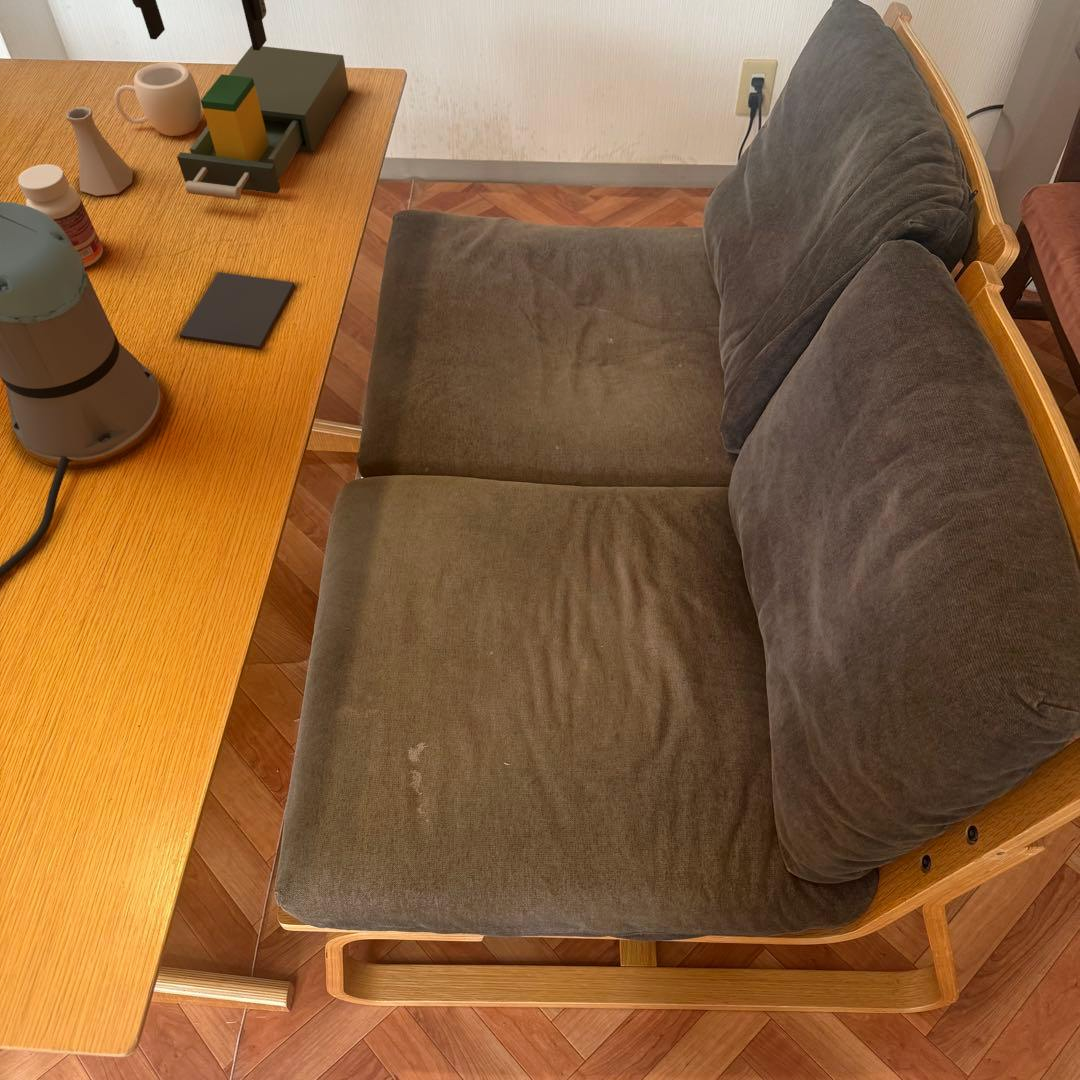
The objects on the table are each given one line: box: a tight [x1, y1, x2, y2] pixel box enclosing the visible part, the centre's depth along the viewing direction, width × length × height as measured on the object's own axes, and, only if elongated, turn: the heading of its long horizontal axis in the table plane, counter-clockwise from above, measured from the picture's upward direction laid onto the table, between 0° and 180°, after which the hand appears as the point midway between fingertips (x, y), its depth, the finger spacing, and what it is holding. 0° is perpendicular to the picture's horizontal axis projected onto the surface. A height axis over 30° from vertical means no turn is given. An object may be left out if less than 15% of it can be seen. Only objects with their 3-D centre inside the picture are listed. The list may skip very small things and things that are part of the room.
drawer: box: [176, 115, 304, 201], centre depth 124 cm, size 22×13×4 cm, turn 170°
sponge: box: [200, 73, 269, 162], centre depth 121 cm, size 7×4×10 cm, turn 170°
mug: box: [114, 61, 202, 137], centre depth 130 cm, size 12×8×8 cm
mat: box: [179, 272, 296, 350], centre depth 109 cm, size 12×10×1 cm
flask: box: [65, 106, 134, 197], centre depth 120 cm, size 7×7×10 cm
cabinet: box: [228, 45, 350, 153], centre depth 133 cm, size 18×15×6 cm
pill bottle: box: [17, 163, 104, 268], centre depth 110 cm, size 6×6×11 cm
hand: (208, 40), depth 113 cm, fingers open, 13 cm apart
